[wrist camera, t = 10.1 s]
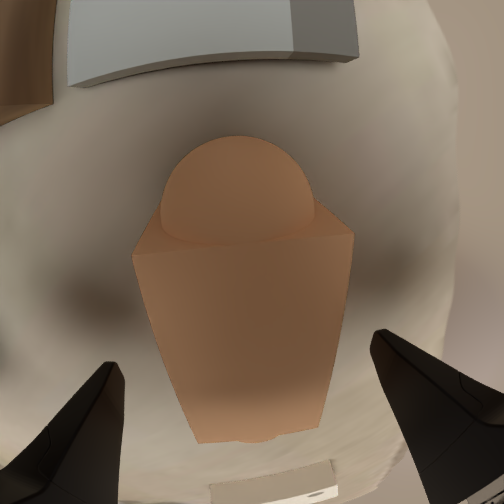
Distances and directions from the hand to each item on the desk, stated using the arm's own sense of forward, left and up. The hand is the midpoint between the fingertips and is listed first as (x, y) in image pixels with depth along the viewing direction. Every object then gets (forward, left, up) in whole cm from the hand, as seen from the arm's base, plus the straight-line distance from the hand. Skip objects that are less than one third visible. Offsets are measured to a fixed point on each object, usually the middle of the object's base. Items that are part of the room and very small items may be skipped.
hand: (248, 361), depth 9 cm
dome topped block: (0, 0, -4) cm, 4 cm away
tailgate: (-5, +18, -4) cm, 19 cm away
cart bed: (-11, +18, -4) cm, 21 cm away
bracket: (+2, -27, -4) cm, 28 cm away
